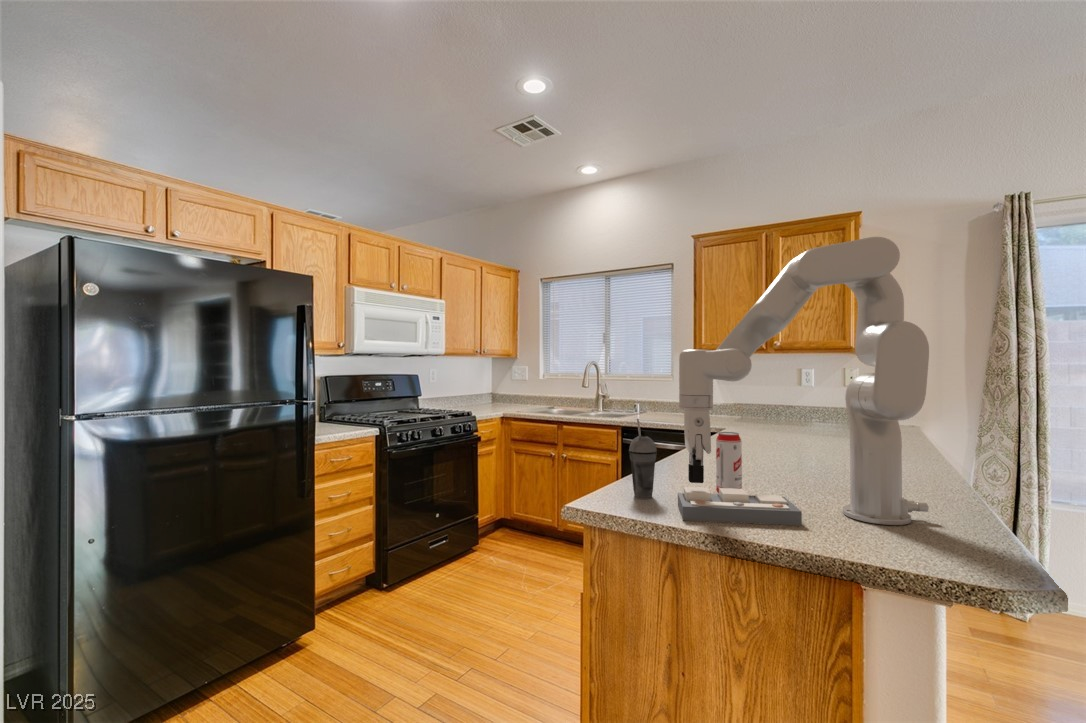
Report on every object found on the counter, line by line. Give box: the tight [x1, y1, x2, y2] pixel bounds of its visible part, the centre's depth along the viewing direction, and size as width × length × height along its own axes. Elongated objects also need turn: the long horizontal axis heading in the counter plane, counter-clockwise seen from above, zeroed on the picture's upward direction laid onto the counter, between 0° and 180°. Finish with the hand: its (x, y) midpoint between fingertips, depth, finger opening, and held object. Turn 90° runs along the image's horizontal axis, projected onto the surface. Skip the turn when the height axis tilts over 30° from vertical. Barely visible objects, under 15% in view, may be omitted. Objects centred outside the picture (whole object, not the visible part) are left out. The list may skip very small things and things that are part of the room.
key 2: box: [754, 494, 787, 505], centre depth 113 cm, size 5×5×3 cm
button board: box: [677, 492, 803, 527], centre depth 112 cm, size 24×12×4 cm, turn 80°
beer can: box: [715, 431, 743, 494], centre depth 130 cm, size 6×6×16 cm
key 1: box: [683, 486, 712, 502], centre depth 116 cm, size 5×5×3 cm
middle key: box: [718, 488, 750, 503], centre depth 114 cm, size 5×5×3 cm
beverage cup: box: [628, 418, 658, 500], centre depth 129 cm, size 7×7×20 cm
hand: (696, 481), depth 116 cm, fingers closed
